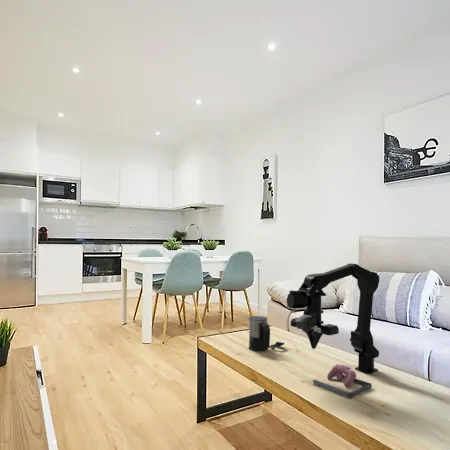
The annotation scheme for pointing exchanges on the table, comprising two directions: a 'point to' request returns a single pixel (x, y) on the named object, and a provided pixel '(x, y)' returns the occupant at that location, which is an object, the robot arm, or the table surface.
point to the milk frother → (260, 334)
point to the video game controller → (339, 371)
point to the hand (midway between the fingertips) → (313, 348)
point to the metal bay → (351, 394)
